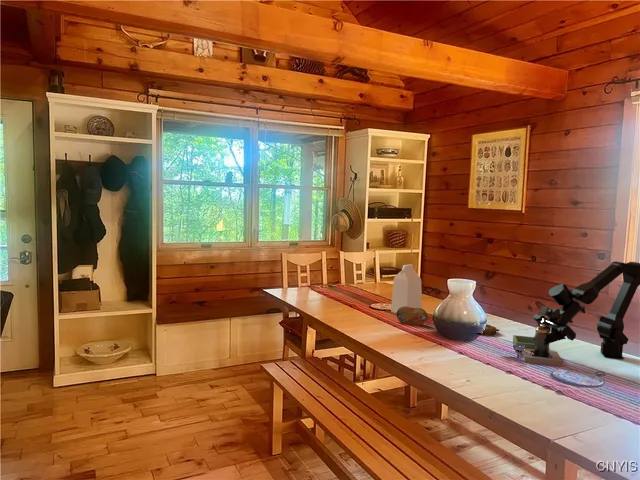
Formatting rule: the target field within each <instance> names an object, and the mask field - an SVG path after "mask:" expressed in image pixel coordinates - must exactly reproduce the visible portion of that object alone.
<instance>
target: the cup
mask: <svg viewBox="0 0 640 480" xmlns="http://www.w3.org/2000/svg"><path fill="white" fill-rule="evenodd" d="M512 335H513V336H512V345H513V346H514V345H516V346H522V345H525V348H526V349H535V340H534V336H527V335H526V336H525V335H515V334H512Z"/></svg>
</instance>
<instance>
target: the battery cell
mask: <svg viewBox="0 0 640 480" xmlns="http://www.w3.org/2000/svg"><path fill="white" fill-rule="evenodd" d="M534 330H535V331H534V332H535V334H534V336H535V349H534V356H535V357H544V358H549V357H548V356H549V351H550V343H549V344H547V345H543V341H544V340H545V339H546V338H547V336H548V335H549V334H550V333H551V327H548V326H546V325H544V324H540V325H538V324H537V325H535V329H534Z"/></svg>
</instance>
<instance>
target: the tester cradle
mask: <svg viewBox="0 0 640 480" xmlns="http://www.w3.org/2000/svg"><path fill="white" fill-rule="evenodd" d="M525 352H527V353H530V352H533V353H534V349H526V348H525ZM563 361H564V360H563V359H562V358H561V356H560V355H559V353H558V351H555V350H554V351H553V350H549V356H548V358H544V357H535V356H532V354H531V353H530V355H525V354H524V359H523V362H524V363H529V364H539V365H545V366H547V365H549V366H554V367H563V363H564V362H563Z"/></svg>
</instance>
